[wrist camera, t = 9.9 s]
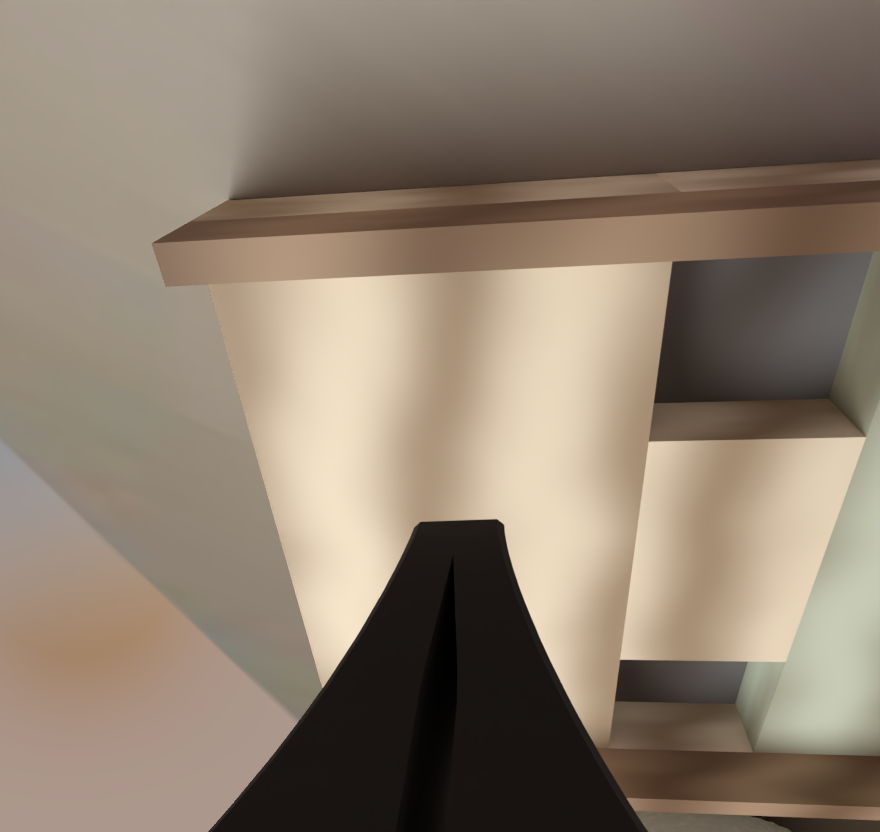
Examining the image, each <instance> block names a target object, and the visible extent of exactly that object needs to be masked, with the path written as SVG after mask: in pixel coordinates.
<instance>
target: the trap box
mask: <svg viewBox="0 0 880 832" xmlns="http://www.w3.org/2000/svg"><path fill="white" fill-rule="evenodd" d="M152 246H153V249H154V252H155V255H156V258H157V261H158V264H159V267H160V270H161V274H162V277H163V280H164V283H165V286H186V285H206V284H208V287H209V290H210V294H211V297H212V301H213V304H214V308H215V311H216V315H217V318H218V322H219V325H220V329H221V332H222V336H223V340H224V343H225V347H226V350H227V354H228V357H229V361H230V364H231V368H232V371H233V375H234V378H235V382H236V385H237V389H238V392H239V396H240V399H241V403H242V406H243V410H244V413H245V417H246V420H247V424H248V427H249V431H250V435H251V438H252V442H253V445H254V449H255V452H256V456H257V459H258V463H259V466H260V470H261V473H262V477H263V480H264V484H265V487H266V491H267V494H268V498H269V501H270V505H271V508H272V512H273V515H274V519H275V523H276V526H277V530H278V533H279V537H280V540H281V544H282V547H283V551H284V554H285V558H286V561H287V565H288V568H289V572H290V575H291V579H292V582H293V586H294V589H295V593H296V596H297V600H298V603H299V607H300V610H301V614H302V618H303V621H304V625H305V628H306V632H307V635H308V639H309V642H310V646H311V649H312V653H313V656H314V660H315V663H316V667H317V670H318V674H319V677H320V681H321V684H322V688H323V687H324V686H325V684H326V683H327V681H328V680H329V678H330V677H331V675H332V674H333V672H334V670H335V669H336V667H337V666H338V664H339V663H340V661H341V660H342V658H343V657H344V655H345V654H346V652H347V651H348V649H349V648H350V646H351V645H352V643H353V642H354V640H355V638H356V637H357V635H358V634H359V632H360V630H361V629H362V627H363V625H364V623H365V622H366V620H367V618H368V617H369V615H370V613H371V611H372V610H373V608H374V606H375V604H376V603H377V601H378V599H379V598H380V596H381V594H382V592H383V591H384V589H385V587H386V585H387V583H388V581H389V579H390V577H391V576H392V574H393V572H394V570H395V568H396V566H397V564H398V562H399V560H400V558H401V556H402V554H403V552H404V550H405V548H406V545H407V543H408V541H409V539H410V537H411V534H412V532H413V529H414V527H415V526H416V525H418V524H419V523H420V522H428V521H456V520H485V519H498V520H499V521H500V522H501V523H503V524H504V528H505V537H506V543H507V548H508V552H509V556H510V559H511V563H512V566H513V569H514V573H515V576H516V579H517V582H518V585H519V588H520V590H521V593H522V596H523V598H524V601H525V604H526V606H527V608H528V611H529V613H530V616H531V618H532V620H533V623H534V625H535V627H536V630H537V632H538V635H539V637H540V639H541V642H542V644H543V646H544V648H545V650H546V652H547V655H548V657H549V659H550V661H551V663H552V665H553V667H554V669H555V671H556V673H557V675H558V677H559V679H560V681H561V683H562V685H563V687H564V689H565V691H566V693H567V695H568V697H569V699H570V701H571V703H572V705H573V707H574V708H575V710H576V712H577V714H578V716H579V718H580V720H581V721H582V723H583V725H584V727H585V729H586V730H587V732H588V734H589V736H590V737H591V739H592V741H593V743H594V744H595V746H596V748H597V750H598V751H599V753H600V755H601V757H602V758H603V760H604V762H605V764H606V765H607V767H608V769H609V770H610V772H611V773H612V775H613V777H614V778H615V780H616V782H617V783H618V785H619V787H620V788H621V790H622V792H623V793H624V795H625V796H626V798H627V800H628V801H629V803H630V805H631V806H632V808H633V809H634V811H646V812H672V813H698V814H724V815H750V816H776V817H802V818H828V819H854V820H880V159H874V160H858V161H842V162H827V163H811V164H795V165H779V166H764V167H748V168H732V169H716V170H701V171H685V172H669V173H653V174H638V175H622V176H606V177H590V178H575V179H559V180H543V181H527V182H512V183H496V184H480V185H464V186H449V187H433V188H417V189H401V190H386V191H370V192H354V193H338V194H323V195H307V196H291V197H275V198H259V199H244V200H228V201H225V202H224V203H222V204H220V205H218V206H217V207H215V208H213V209H211V210H210V211H208V212H206V213H204V214H203V215H201V216H199V217H197V218H196V219H194V220H192V221H190V222H189V223H187V224H185V225H183V226H181V227H180V228H178V229H176V230H174V231H173V232H171V233H169V234H167V235H166V236H164V237H162V238H160V239H159V240H157V241H155V242H153V243H152Z"/></svg>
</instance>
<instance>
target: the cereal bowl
mask: <svg viewBox="0 0 880 832" xmlns="http://www.w3.org/2000/svg"><path fill="white" fill-rule="evenodd" d="M635 813H636V814H637V816H638V817H639V819H640V820H641V822H642V823H643V825H644V826H645V828H646V829H647V831H648V832H792V831H790V830H789V829H787V828H785V827H781V826H778V825H777V824H775V823H773V822H769V821H765V820H763V819H761V818H755V817H752V816H749V815H724V814H698V813H672V812H646V811H635Z"/></svg>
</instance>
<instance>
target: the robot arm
mask: <svg viewBox="0 0 880 832" xmlns="http://www.w3.org/2000/svg"><path fill="white" fill-rule="evenodd" d="M209 832H648V831H647V829H646V828H645V826H644V825H643V823H642V822H641V820H640V819H639V817H638V816H637V814H636V813H635V811H634V809H633V808H632V806H631V805H630V803H629V801H628V800H627V798H626V796H625V795H624V793H623V792H622V790H621V788H620V787H619V785H618V783H617V782H616V780H615V778H614V777H613V775H612V773H611V772H610V770H609V769H608V767H607V765H606V764H605V762H604V760H603V758H602V757H601V755H600V753H599V751H598V750H597V748H596V746H595V744H594V743H593V741H592V739H591V737H590V736H589V734H588V732H587V730H586V729H585V727H584V725H583V723H582V721H581V720H580V718H579V716H578V714H577V712H576V710H575V708H574V707H573V705H572V703H571V701H570V699H569V697H568V695H567V693H566V691H565V689H564V687H563V685H562V683H561V681H560V679H559V677H558V675H557V673H556V671H555V669H554V667H553V665H552V663H551V661H550V659H549V657H548V655H547V652H546V650H545V648H544V646H543V644H542V642H541V639H540V637H539V635H538V632H537V630H536V627H535V625H534V623H533V620H532V618H531V616H530V613H529V611H528V608H527V606H526V604H525V601H524V598H523V596H522V593H521V590H520V588H519V585H518V582H517V579H516V576H515V573H514V569H513V566H512V563H511V559H510V556H509V552H508V548H507V543H506V537H505V528H504V524H503V523H501V522H500V521H499V520H498V519H485V520H456V521H428V522H420V523H419V524H418V525H416V526H415V527H414V529H413V532H412V534H411V537H410V539H409V541H408V543H407V545H406V548H405V550H404V552H403V554H402V556H401V558H400V560H399V562H398V564H397V566H396V568H395V570H394V572H393V574H392V576H391V577H390V579H389V581H388V583H387V585H386V587H385V589H384V591H383V592H382V594H381V596H380V598H379V599H378V601H377V603H376V604H375V606H374V608H373V610H372V611H371V613H370V615H369V617H368V618H367V620H366V622H365V623H364V625H363V627H362V629H361V630H360V632H359V634H358V635H357V637H356V638H355V640H354V642H353V643H352V645H351V646H350V648H349V649H348V651H347V652H346V654H345V655H344V657H343V658H342V660H341V661H340V663H339V664H338V666H337V667H336V669H335V670H334V672H333V674H332V675H331V677H330V678H329V680H328V681H327V683H326V684H325V686H324V687H323V689H322V690H321V691H320V693H319V694H318V696H317V697H316V698H315V700H314V701H313V703H312V704H311V705H310V707H309V708H308V710H307V711H306V712H305V714H304V715H303V716H302V718H301V719H300V720H299V722H298V723H297V725H296V726H295V727H294V728H293V730H292V731H291V732H290V734H289V735H288V736H287V738H286V739H285V740H284V741H283V743H282V744H281V746H280V747H279V748H278V749H277V751H276V752H275V753H274V754H273V756H272V757H271V758H270V759H269V761H268V762H267V763H266V764H265V765H264V767H263V768H262V769H261V771H260V772H259V773H258V774H257V775H256V776H255V778H254V779H253V780H252V781H251V782H250V784H249V785H248V786H247V787H246V788H245V790H244V791H243V792H242V793H241V795H240V796H239V797H238V798H237V799H236V800H235V802H234V803H233V804H232V805H231V807H230V808H229V809H228V810H227V811H226V812H225V813H224V814H223V816H222V817H221V818H220V819H219V820H218V821H217V823H216V824H215V825H214V826H213V827H212V828H211V829H210V830H209Z"/></svg>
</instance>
